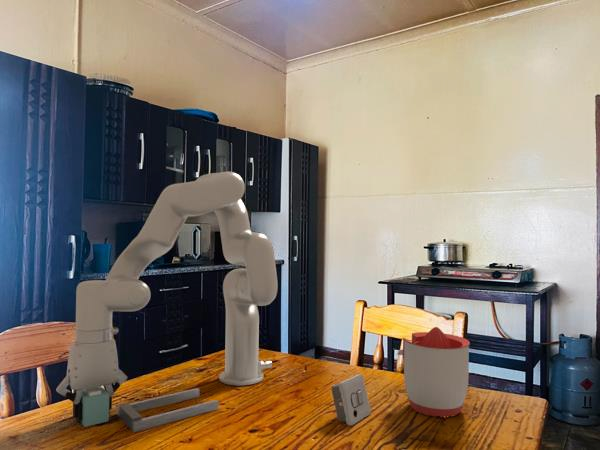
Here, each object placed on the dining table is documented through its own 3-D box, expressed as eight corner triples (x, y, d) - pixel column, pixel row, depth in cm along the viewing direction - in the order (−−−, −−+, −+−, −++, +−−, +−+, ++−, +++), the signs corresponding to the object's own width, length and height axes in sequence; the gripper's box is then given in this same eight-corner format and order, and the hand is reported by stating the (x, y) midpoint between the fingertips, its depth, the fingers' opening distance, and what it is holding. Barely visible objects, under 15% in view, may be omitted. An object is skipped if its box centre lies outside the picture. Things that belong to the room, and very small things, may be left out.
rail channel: (197, 395, 116) (197, 385, 116) (218, 409, 108) (218, 398, 108) (117, 415, 103) (117, 404, 103) (133, 432, 95) (134, 420, 95)
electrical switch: (350, 427, 99) (347, 384, 99) (331, 423, 102) (328, 381, 103) (371, 414, 106) (369, 374, 107) (353, 411, 109) (350, 372, 110)
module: (99, 411, 106) (100, 383, 106) (108, 421, 100) (109, 391, 100) (76, 416, 103) (77, 387, 103) (84, 427, 97) (85, 396, 97)
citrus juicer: (409, 391, 122) (410, 317, 122) (476, 406, 112) (477, 325, 112) (385, 409, 109) (386, 326, 109) (458, 428, 99) (459, 337, 99)
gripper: (127, 327, 110) (125, 402, 110) (48, 337, 99) (46, 420, 99) (137, 333, 104) (136, 412, 104) (55, 344, 93) (53, 432, 93)
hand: (92, 415), depth 101 cm, fingers open, 5 cm apart
